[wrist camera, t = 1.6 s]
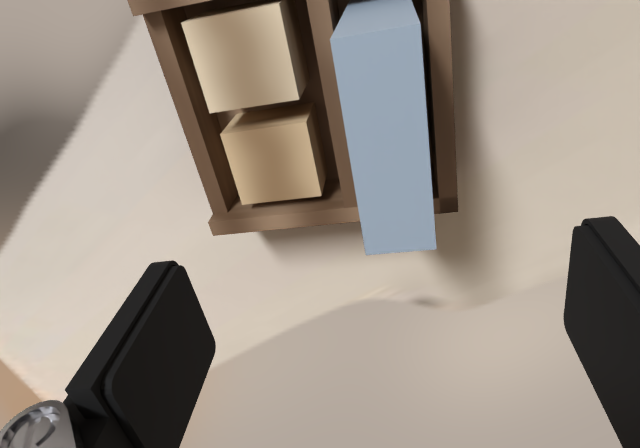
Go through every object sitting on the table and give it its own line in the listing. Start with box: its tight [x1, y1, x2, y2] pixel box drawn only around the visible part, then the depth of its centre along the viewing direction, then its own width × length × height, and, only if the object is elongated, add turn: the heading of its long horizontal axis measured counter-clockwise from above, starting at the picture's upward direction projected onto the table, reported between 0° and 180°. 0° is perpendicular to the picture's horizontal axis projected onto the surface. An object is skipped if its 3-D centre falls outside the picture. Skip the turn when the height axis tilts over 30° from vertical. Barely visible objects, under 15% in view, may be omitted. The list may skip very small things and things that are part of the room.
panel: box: [330, 0, 436, 255], centre depth 22 cm, size 3×9×11 cm, turn 11°
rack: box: [128, 0, 458, 236], centre depth 26 cm, size 15×14×5 cm
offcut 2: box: [220, 102, 328, 205], centre depth 28 cm, size 5×5×4 cm
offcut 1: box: [181, 0, 310, 113], centre depth 25 cm, size 5×5×4 cm
